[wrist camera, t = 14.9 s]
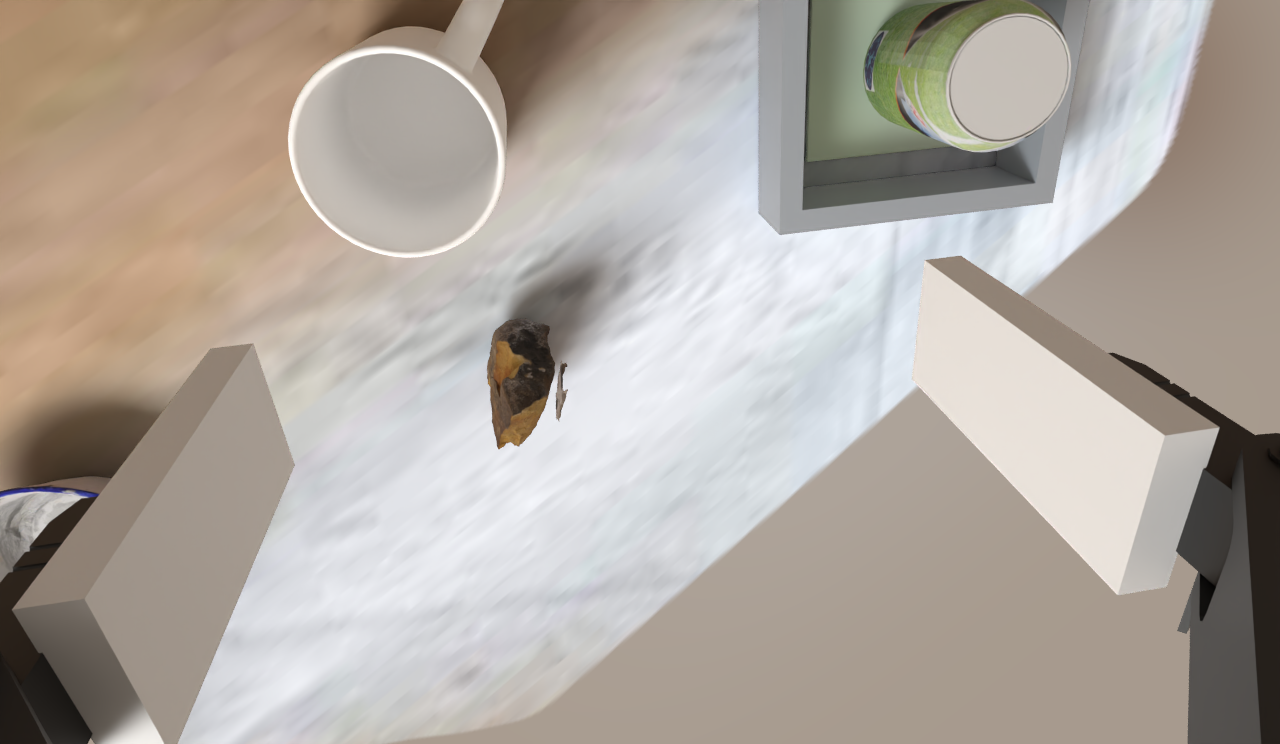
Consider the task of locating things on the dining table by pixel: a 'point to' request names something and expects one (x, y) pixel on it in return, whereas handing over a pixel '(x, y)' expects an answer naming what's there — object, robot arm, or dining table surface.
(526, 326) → the rock
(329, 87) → the mug
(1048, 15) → the beverage can
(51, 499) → the bowl
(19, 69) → the dining table surface
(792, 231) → the corral
